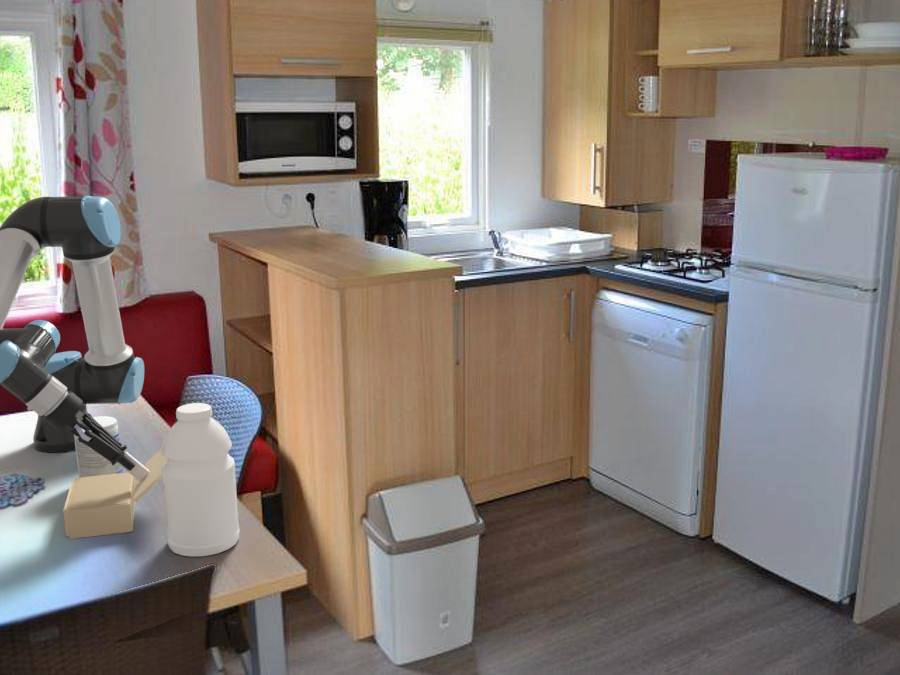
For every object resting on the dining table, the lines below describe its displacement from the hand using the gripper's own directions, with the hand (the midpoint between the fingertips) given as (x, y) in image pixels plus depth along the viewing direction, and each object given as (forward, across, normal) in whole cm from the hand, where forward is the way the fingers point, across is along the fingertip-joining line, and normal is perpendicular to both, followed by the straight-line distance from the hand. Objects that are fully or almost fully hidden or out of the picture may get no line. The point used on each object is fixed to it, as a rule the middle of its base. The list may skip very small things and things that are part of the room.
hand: (144, 475), depth 199 cm
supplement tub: (0, -21, -13) cm, 25 cm away
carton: (+1, -1, -12) cm, 12 cm away
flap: (+1, -1, -3) cm, 3 cm away
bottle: (+13, +18, +2) cm, 22 cm away
